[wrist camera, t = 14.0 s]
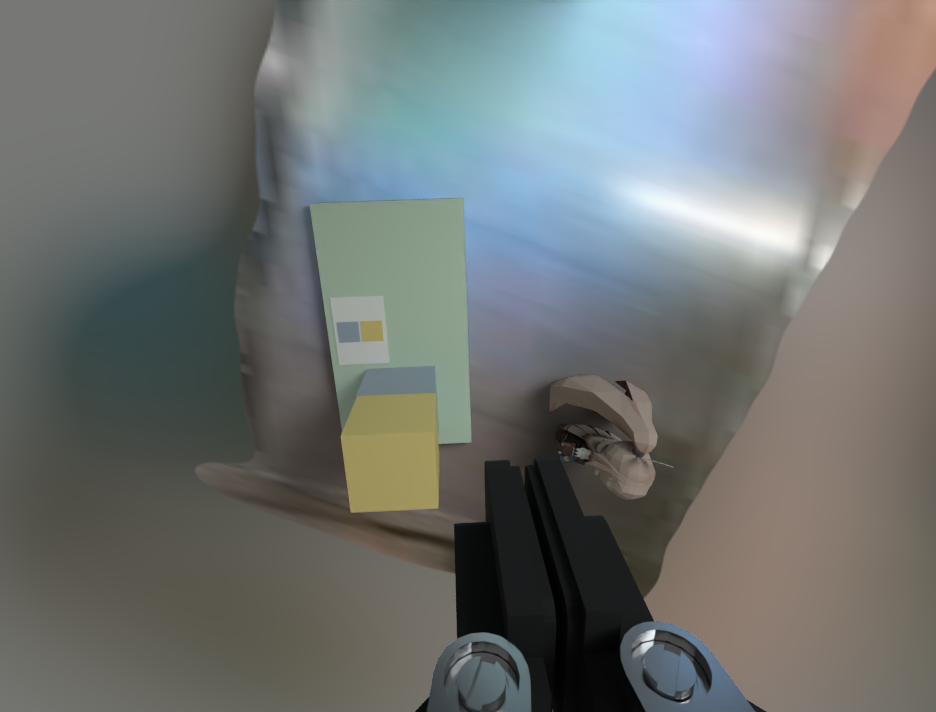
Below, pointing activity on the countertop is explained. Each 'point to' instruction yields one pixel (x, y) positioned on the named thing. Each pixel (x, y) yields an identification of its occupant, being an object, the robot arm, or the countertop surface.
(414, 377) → the base brick
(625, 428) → the toy
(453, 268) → the board
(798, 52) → the countertop surface
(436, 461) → the brick
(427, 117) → the countertop surface
